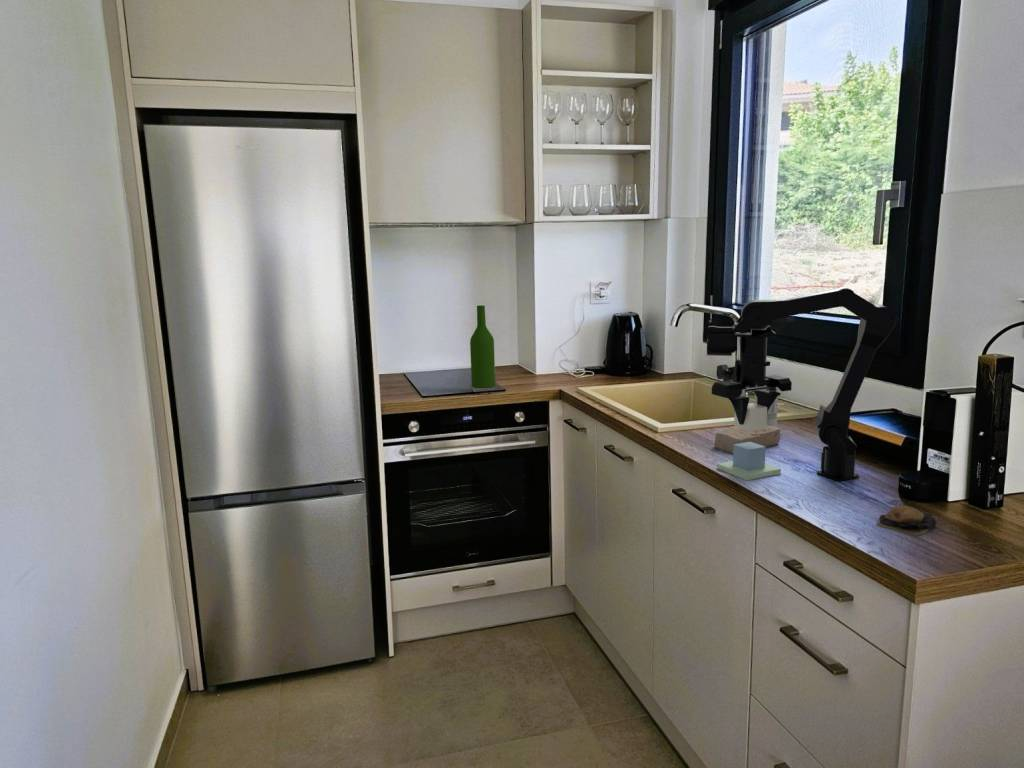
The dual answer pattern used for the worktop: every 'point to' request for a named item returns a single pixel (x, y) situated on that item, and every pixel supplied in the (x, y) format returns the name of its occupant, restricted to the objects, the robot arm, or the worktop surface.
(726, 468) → the green block
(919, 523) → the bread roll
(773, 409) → the energy drink can
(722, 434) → the brick
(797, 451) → the worktop surface
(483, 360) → the wine bottle
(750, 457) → the blue block
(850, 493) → the worktop surface
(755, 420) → the cream block
